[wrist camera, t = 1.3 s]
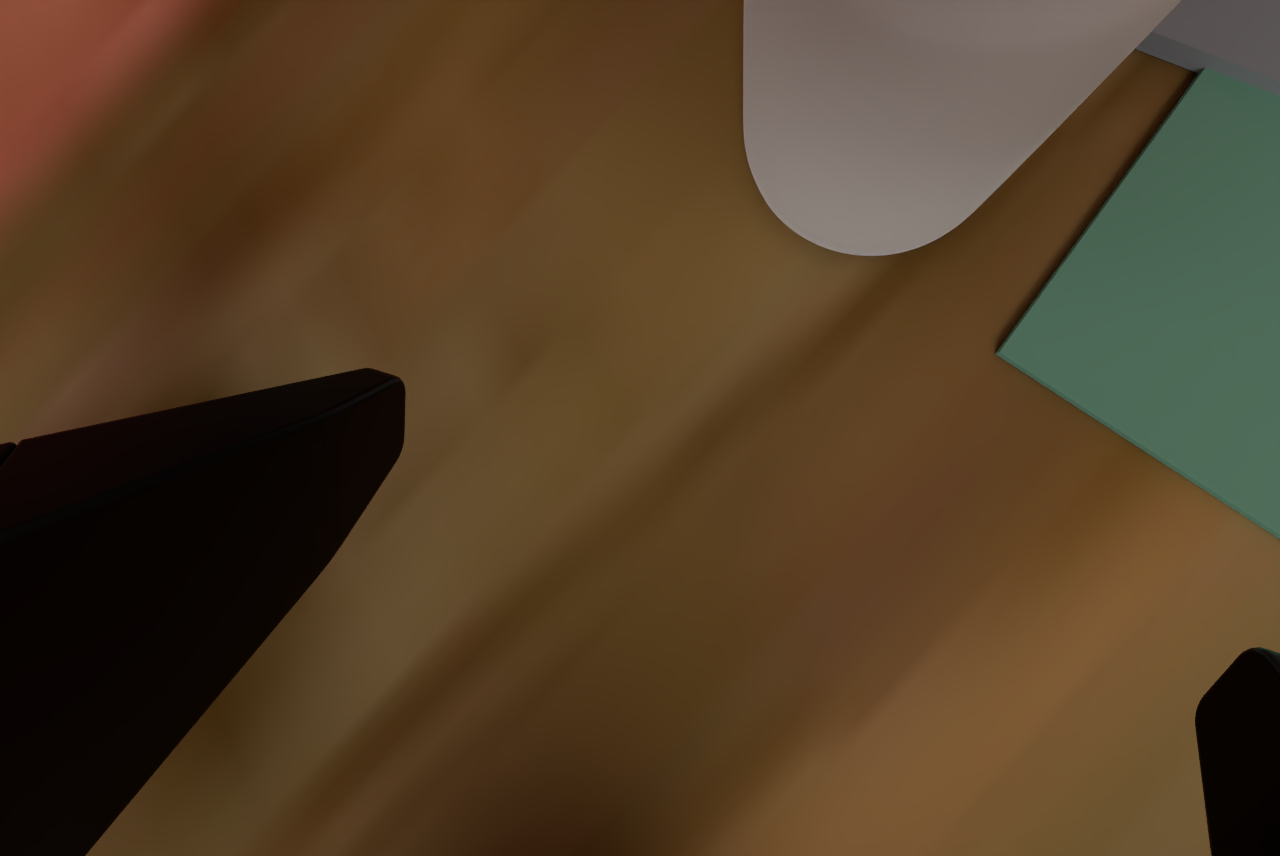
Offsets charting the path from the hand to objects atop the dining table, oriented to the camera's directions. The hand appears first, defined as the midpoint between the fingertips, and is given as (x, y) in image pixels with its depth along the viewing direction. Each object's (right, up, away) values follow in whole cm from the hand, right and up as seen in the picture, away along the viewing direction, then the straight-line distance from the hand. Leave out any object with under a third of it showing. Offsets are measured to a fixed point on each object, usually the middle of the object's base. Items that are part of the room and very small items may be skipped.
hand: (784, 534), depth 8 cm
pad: (+13, +4, +10) cm, 17 cm away
